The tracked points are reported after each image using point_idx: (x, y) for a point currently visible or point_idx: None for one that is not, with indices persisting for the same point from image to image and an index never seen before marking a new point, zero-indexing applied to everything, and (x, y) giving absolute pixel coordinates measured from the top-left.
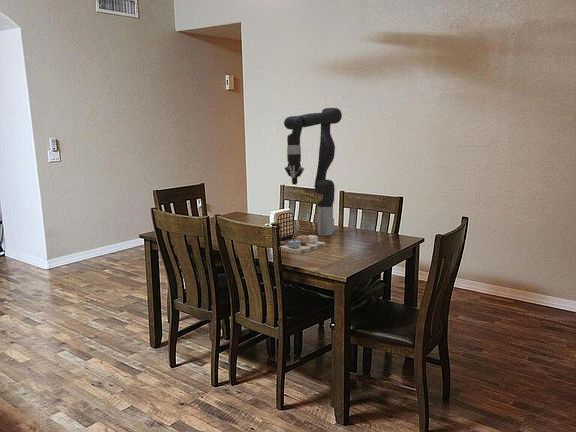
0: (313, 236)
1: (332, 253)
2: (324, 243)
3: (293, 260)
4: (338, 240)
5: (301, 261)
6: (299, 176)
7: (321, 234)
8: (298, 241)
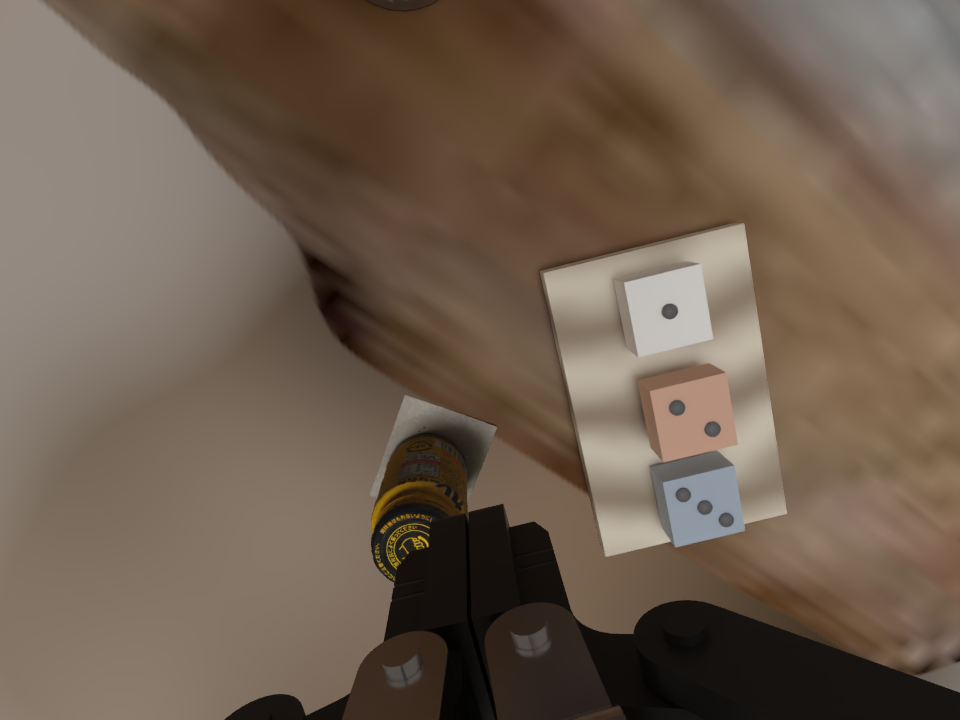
0: (684, 296)
1: (911, 316)
2: (744, 238)
3: (847, 599)
4: (662, 7)
5: (897, 575)
6: (689, 616)
7: (425, 2)
8: (731, 486)
